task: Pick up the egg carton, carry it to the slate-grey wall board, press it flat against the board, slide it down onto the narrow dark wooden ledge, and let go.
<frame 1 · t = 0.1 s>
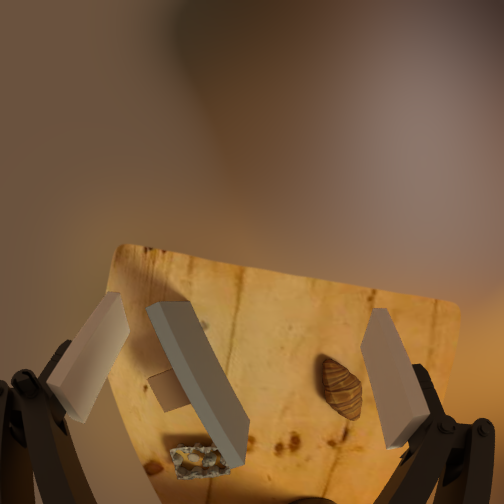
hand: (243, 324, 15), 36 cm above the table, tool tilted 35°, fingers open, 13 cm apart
wall board: (209, 367, 49), on the table
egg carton: (202, 455, 46), on the table
croissant: (340, 388, 48), on the table
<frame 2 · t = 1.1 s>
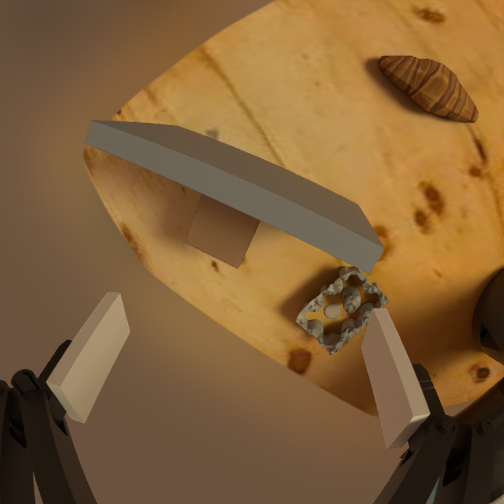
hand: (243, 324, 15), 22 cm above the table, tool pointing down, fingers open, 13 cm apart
wall board: (258, 175, 34), on the table
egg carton: (340, 300, 38), on the table
croissant: (427, 89, 26), on the table
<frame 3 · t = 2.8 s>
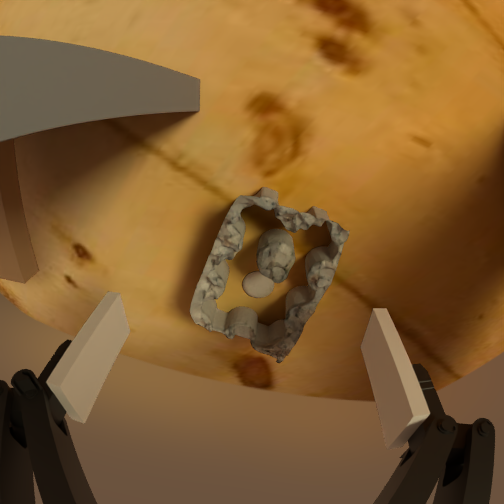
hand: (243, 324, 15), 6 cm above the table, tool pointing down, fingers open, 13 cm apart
wall board: (49, 129, 17), on the table
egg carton: (264, 261, 21), on the table
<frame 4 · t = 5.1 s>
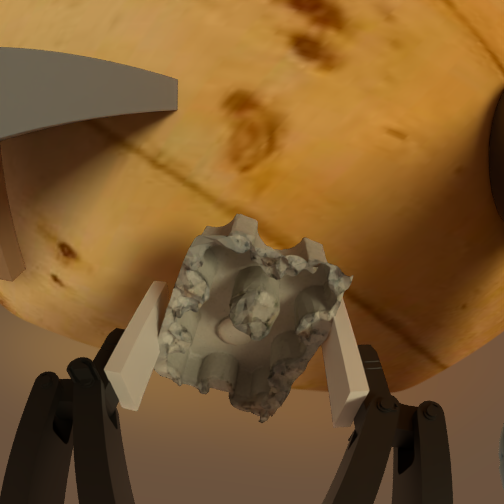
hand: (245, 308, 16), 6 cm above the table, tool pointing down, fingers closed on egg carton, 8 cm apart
wall board: (34, 131, 17), on the table
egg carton: (243, 304, 17), point 5 cm above the table, touching gripper
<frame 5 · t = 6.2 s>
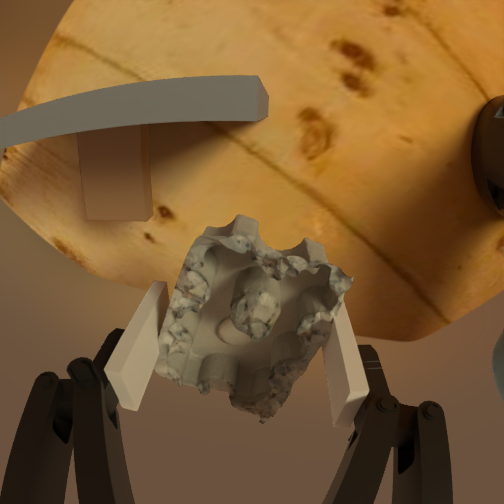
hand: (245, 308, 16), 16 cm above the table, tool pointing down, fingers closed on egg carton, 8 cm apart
wall board: (147, 118, 26), on the table
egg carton: (244, 304, 16), point 15 cm above the table, touching gripper
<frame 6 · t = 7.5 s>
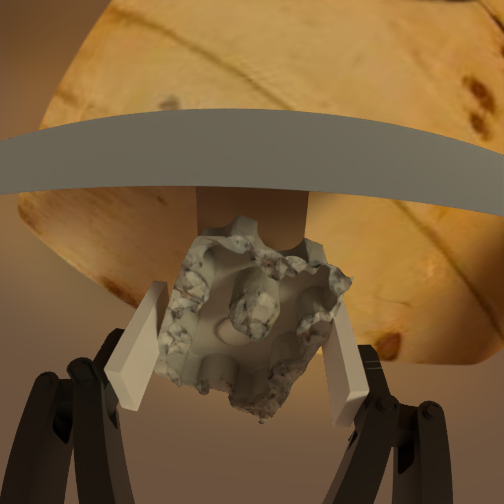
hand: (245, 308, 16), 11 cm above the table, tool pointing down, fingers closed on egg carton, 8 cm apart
wall board: (259, 135, 22), on the table
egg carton: (243, 305, 16), point 10 cm above the table, touching gripper
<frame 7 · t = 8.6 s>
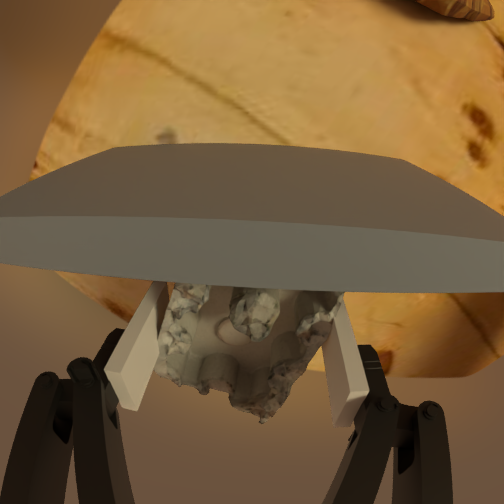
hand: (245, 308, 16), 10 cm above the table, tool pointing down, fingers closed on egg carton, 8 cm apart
wall board: (256, 169, 23), on the table
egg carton: (243, 305, 16), point 10 cm above the table, touching gripper, wall board
when the fingers open (8 cm above the table, at t = 9.6 s): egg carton stays where it is, resting on wall board.
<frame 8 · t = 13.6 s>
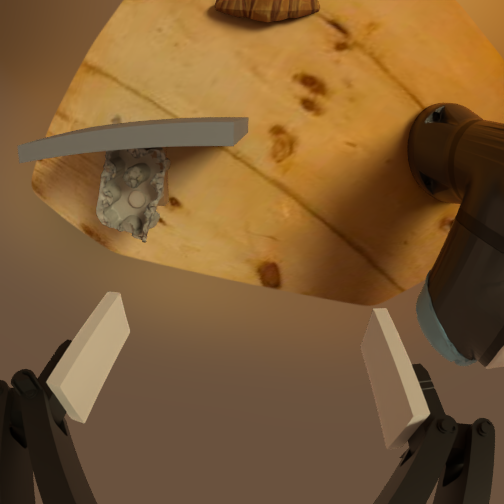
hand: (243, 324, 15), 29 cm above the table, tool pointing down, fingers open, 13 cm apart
wall board: (161, 133, 38), on the table
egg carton: (138, 184, 33), point 8 cm above the table, touching wall board
croissant: (267, 6, 29), on the table
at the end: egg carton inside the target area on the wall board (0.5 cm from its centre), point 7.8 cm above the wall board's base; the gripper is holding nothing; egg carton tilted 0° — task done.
